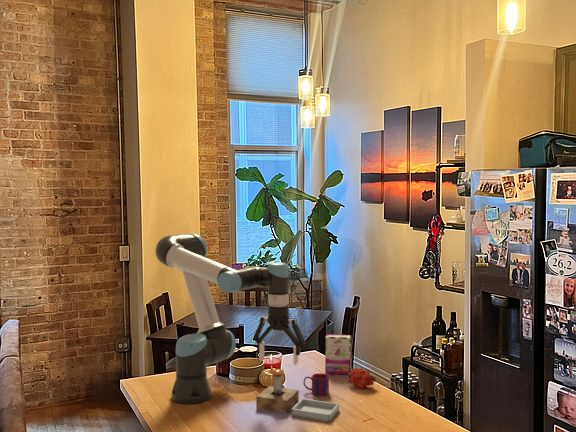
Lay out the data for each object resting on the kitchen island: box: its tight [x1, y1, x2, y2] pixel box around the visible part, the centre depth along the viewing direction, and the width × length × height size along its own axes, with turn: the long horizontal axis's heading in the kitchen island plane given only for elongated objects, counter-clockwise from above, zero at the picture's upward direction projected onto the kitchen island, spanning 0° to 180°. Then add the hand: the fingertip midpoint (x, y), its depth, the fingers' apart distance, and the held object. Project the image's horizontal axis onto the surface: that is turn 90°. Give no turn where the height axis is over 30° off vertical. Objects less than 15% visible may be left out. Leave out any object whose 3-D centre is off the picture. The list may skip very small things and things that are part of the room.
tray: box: [290, 398, 340, 423], centre depth 207 cm, size 14×11×2 cm
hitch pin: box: [271, 368, 285, 396], centre depth 214 cm, size 4×4×13 cm
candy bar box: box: [324, 334, 352, 376], centre depth 252 cm, size 11×5×16 cm, turn 81°
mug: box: [303, 373, 330, 397], centre depth 228 cm, size 7×10×7 cm
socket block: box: [255, 385, 300, 414], centre depth 215 cm, size 12×12×4 cm
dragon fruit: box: [346, 367, 377, 390], centre depth 234 cm, size 8×8×12 cm
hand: (278, 361), depth 214 cm, fingers open, 13 cm apart
